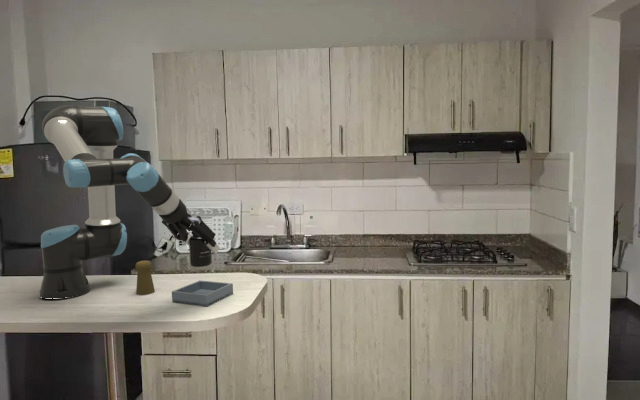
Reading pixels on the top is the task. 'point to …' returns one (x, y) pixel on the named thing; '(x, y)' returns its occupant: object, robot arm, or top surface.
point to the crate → (202, 293)
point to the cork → (144, 278)
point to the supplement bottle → (199, 252)
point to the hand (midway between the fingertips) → (207, 250)
